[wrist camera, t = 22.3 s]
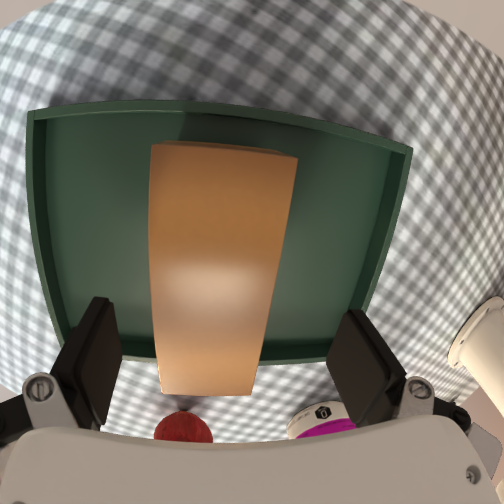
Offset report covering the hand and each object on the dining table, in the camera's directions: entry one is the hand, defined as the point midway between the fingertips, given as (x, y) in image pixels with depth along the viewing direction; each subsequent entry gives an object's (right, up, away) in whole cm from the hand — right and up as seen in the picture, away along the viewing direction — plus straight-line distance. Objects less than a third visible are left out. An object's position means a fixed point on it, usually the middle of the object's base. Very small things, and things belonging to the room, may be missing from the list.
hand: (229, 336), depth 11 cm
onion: (-6, -13, +15) cm, 21 cm away
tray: (-2, +4, +7) cm, 8 cm away
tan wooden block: (-2, +3, +6) cm, 8 cm away
